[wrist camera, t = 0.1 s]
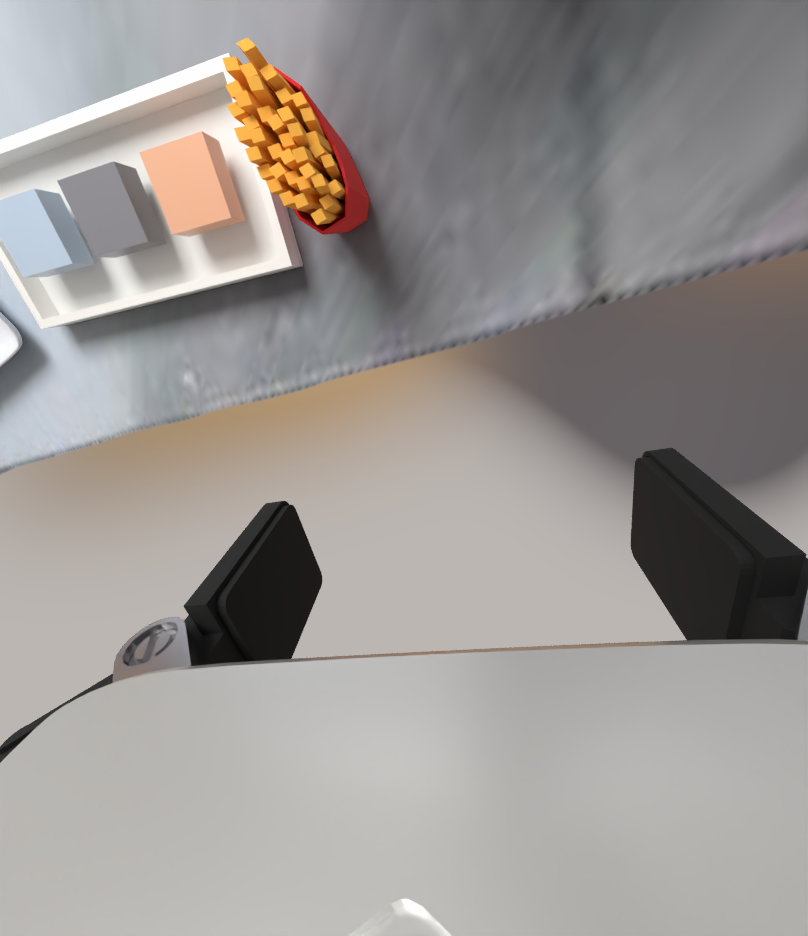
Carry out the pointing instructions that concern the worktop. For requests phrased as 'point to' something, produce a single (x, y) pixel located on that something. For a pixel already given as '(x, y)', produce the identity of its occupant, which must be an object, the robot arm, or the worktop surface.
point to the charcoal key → (112, 210)
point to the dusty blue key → (41, 234)
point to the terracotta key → (193, 184)
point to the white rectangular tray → (120, 140)
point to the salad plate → (8, 340)
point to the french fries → (294, 146)
